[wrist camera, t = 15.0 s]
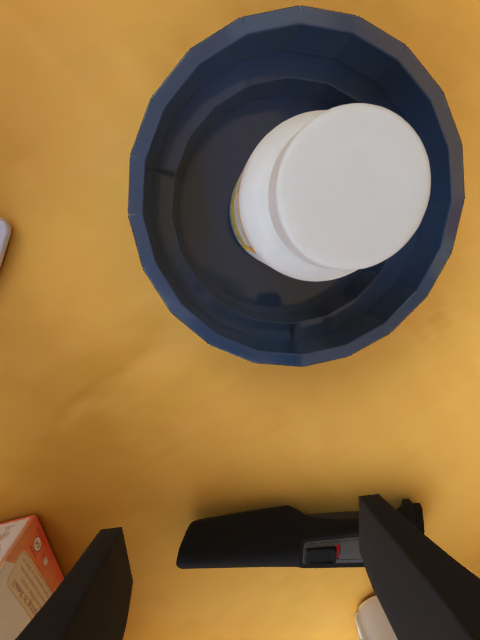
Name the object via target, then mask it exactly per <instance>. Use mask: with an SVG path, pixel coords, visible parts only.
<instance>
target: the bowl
mask: <svg viewBox="0 0 480 640" xmlns="http://www.w3.org/2000/svg"><path fill="white" fill-rule="evenodd" d="M351 103H366V104H372V105H377V106H381V107H384V108H386V109H388V110H391V111H392V112H394V113H396V114H397V115H399V116H400V117H402V118H403V119H404V120H405V121H406V122H408V123H409V125H410V126H411V127H412V128H413V129H414V130H415V132H416V133H417V135H418V136H419V137H420V139H421V141H422V143H423V145H424V148H425V150H426V153H427V156H428V159H429V164H430V172H431V189H430V197H429V201H428V205H427V208H426V211H425V214H424V216H423V218H422V221H421V223H420V225H419V227H418V228H417V230H416V231H415V233H414V234H413V236H412V237H411V238H410V240H409V241H408V242H407V243H406V244H405V245H404V246H403V247H402V248H401V249H400V250H399V251H398V252H397V253H395V254H394V255H392V256H391V257H389V258H388V259H386V260H384V261H382V262H381V263H378V264H376V265H374V266H372V267H368V268H364V269H358V270H356V271H355V272H353V273H350V274H348V275H346V276H343V277H341V278H337V279H333V280H328V281H304V280H299V279H295V278H292V277H289V276H286V275H284V274H282V273H280V272H278V271H276V270H274V269H273V268H271V267H270V266H268V265H266V264H264V263H263V262H261V261H259V260H257V259H256V258H254V257H253V256H251V255H250V254H249V253H247V252H246V251H245V250H244V249H243V248H242V246H241V245H240V243H239V242H238V240H237V239H236V237H235V235H234V232H233V229H232V226H231V221H230V201H231V196H232V193H233V190H234V187H235V185H236V183H237V181H238V179H239V177H240V175H241V173H242V171H243V169H244V167H245V165H246V163H247V161H248V159H249V158H250V156H251V154H252V153H253V151H254V150H255V148H256V147H257V145H258V144H259V143H260V142H261V140H262V139H263V138H264V137H265V136H266V135H267V134H268V133H269V132H270V131H271V130H273V129H274V128H275V127H276V126H278V125H279V124H281V123H282V122H284V121H286V120H288V119H290V118H292V117H294V116H297V115H299V114H302V113H305V112H310V111H317V110H329V109H331V108H333V107H337V106H340V105H345V104H351ZM461 143H462V142H461V139H460V136H459V134H458V131H457V128H456V125H455V123H454V120H453V117H452V114H451V111H450V109H449V106H448V103H447V100H446V98H445V95H444V92H443V91H442V89H441V88H440V86H439V85H438V84H437V83H436V81H435V80H434V79H433V78H432V76H431V75H430V74H429V73H428V71H427V70H426V69H425V68H424V66H423V65H422V64H421V63H420V61H419V60H418V59H417V58H416V56H415V55H414V54H413V53H412V51H411V50H410V49H409V48H408V47H406V45H405V44H404V43H402V42H400V41H399V40H397V39H396V38H394V37H392V36H391V35H389V34H387V33H386V32H384V31H382V30H381V29H379V28H377V27H376V26H374V25H373V24H371V23H369V22H368V21H366V20H364V19H363V18H361V17H359V16H356V15H352V14H346V13H341V12H335V11H329V10H324V9H318V8H313V7H307V6H300V7H299V6H293V7H289V8H284V9H279V10H274V11H269V12H264V13H259V14H254V15H249V16H244V17H242V18H238V19H237V20H235V21H233V22H232V23H230V24H229V25H227V26H225V27H224V28H222V29H221V30H219V31H217V32H216V33H214V34H213V35H211V36H210V37H208V38H206V39H205V40H203V41H202V42H200V43H198V44H197V45H195V46H194V47H192V48H190V49H189V51H187V53H186V54H185V55H184V56H183V58H182V59H181V60H180V62H179V63H178V64H177V65H176V67H175V68H174V69H173V70H172V72H171V73H170V74H169V75H168V77H167V78H166V79H165V81H164V82H163V83H162V84H161V86H160V87H159V88H158V89H157V91H156V92H155V93H154V95H153V96H152V97H151V99H150V101H149V104H148V106H147V109H146V112H145V115H144V117H143V120H142V123H141V126H140V129H139V131H138V134H137V137H136V140H135V143H134V145H133V148H132V151H131V154H130V156H131V157H130V167H129V195H128V214H129V215H128V217H129V221H130V225H131V228H132V232H133V235H134V239H135V243H136V246H137V250H138V254H139V257H140V261H141V265H142V267H143V270H144V272H145V273H146V275H147V276H148V278H149V280H150V281H151V283H152V284H153V286H154V287H155V289H156V290H157V292H158V293H159V295H160V297H161V298H162V300H163V301H164V303H165V304H166V306H167V307H168V309H169V311H170V312H171V313H172V314H173V315H174V316H175V317H177V318H178V319H179V320H180V321H181V322H183V323H184V324H185V325H186V326H187V327H189V328H190V329H191V330H192V331H193V332H195V333H196V334H197V335H198V336H199V337H201V338H202V339H203V340H204V341H206V342H207V343H208V344H210V345H211V346H213V347H216V348H218V349H221V350H223V351H226V352H228V353H231V354H233V355H235V356H238V357H240V358H243V359H245V360H248V361H250V362H253V363H260V364H272V365H285V366H298V367H301V366H302V367H304V366H309V365H313V364H318V363H322V362H327V361H331V360H335V359H340V358H344V357H348V356H350V355H352V354H354V353H356V352H357V351H359V350H361V349H363V348H365V347H366V346H368V345H370V344H372V343H374V342H375V341H377V340H379V339H381V338H383V337H384V336H386V335H388V334H390V332H392V331H393V330H394V329H395V328H396V327H397V326H398V325H399V324H400V323H401V322H402V321H403V320H404V319H405V318H406V317H407V316H408V315H409V314H410V313H411V312H412V311H413V310H414V309H415V308H416V307H417V306H418V305H419V304H420V303H421V302H422V301H423V300H424V299H425V298H426V297H427V296H428V294H429V292H430V290H431V289H432V287H433V285H434V283H435V281H436V280H437V278H438V276H439V274H440V273H441V271H442V269H443V267H444V265H445V264H446V262H447V260H448V258H449V257H450V255H451V253H452V252H451V251H452V250H453V246H454V241H455V237H456V233H457V229H458V225H459V221H460V217H461V212H462V208H463V204H464V199H465V191H464V170H463V149H462V144H461Z"/></svg>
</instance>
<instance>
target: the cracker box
mask: <svg viewBox="0 0 480 640" xmlns="http://www.w3.org/2000/svg"><path fill="white" fill-rule="evenodd" d="M63 580H64V576H63V574H62V572H61V569H60V567H59V565H58V563H57V560H56V558H55V556H54V554H53V551H52V549H51V547H50V545H49V542H48V540H47V538H46V535H45V533H44V531H43V528H42V526H41V524H40V522H39V519H38V517H37V515H31V516H27V517H23V518H19V519H15V520H11V521H7V522H4V523H0V640H15V639H16V638H17V637H18V635H19V634H20V633H21V632H22V631H23V629H24V628H25V627H26V626H27V625H28V623H29V622H30V621H31V620H32V619H33V617H34V616H35V615H36V614H37V613H38V611H39V610H40V609H41V608H42V606H43V605H44V604H45V603H46V601H47V600H48V599H49V598H50V596H51V595H52V594H53V592H54V591H55V590H56V589H57V587H58V586H59V585H60V583H61V582H62V581H63Z"/></svg>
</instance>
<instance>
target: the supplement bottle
mask: <svg viewBox="0 0 480 640" xmlns="http://www.w3.org/2000/svg"><path fill="white" fill-rule="evenodd" d="M430 189H431V172H430V164H429V159H428V156H427V153H426V150H425V148H424V145H423V143H422V141H421V139H420V137H419V136H418V135H417V133H416V132H415V130H414V129H413V128H412V127H411V126H410V125H409V123H408V122H406V121H405V120H404V119H403V118H402V117H400V116H399V115H397V114H396V113H394V112H392V111H391V110H388V109H386V108H384V107H381V106H377V105H372V104H366V103H351V104H345V105H340V106H337V107H333V108H331V109H329V110H317V111H310V112H305V113H302V114H299V115H297V116H294V117H292V118H290V119H288V120H286V121H284V122H282V123H281V124H279V125H278V126H276V127H275V128H274V129H273V130H271V131H270V132H269V133H268V134H267V135H266V136H265V137H264V138H263V139H262V140H261V142H260V143H259V144H258V145H257V147H256V148H255V150H254V151H253V153H252V154H251V156H250V158H249V159H248V161H247V163H246V165H245V167H244V169H243V171H242V173H241V175H240V177H239V179H238V181H237V183H236V185H235V187H234V190H233V193H232V196H231V201H230V221H231V226H232V229H233V232H234V235H235V237H236V239H237V240H238V242H239V243H240V245H241V246H242V248H243V249H244V250H245V251H246V252H247V253H249V254H250V255H251V256H253V257H254V258H256V259H257V260H259V261H261V262H263V263H264V264H266V265H268V266H270V267H271V268H273V269H274V270H276V271H278V272H280V273H282V274H284V275H286V276H289V277H292V278H295V279H299V280H304V281H328V280H333V279H337V278H341V277H343V276H346V275H348V274H350V273H353V272H355V271H356V270H358V269H364V268H368V267H372V266H374V265H376V264H378V263H381V262H382V261H384V260H386V259H388V258H389V257H391V256H392V255H394V254H395V253H397V252H398V251H399V250H400V249H401V248H402V247H403V246H404V245H405V244H406V243H407V242H408V241H409V240H410V238H411V237H412V236H413V234H414V233H415V231H416V230H417V228H418V227H419V225H420V223H421V221H422V218H423V216H424V214H425V211H426V208H427V205H428V201H429V197H430Z"/></svg>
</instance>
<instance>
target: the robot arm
mask: <svg viewBox="0 0 480 640" xmlns="http://www.w3.org/2000/svg"><path fill="white" fill-rule="evenodd" d="M10 235H11V226H10V224H9V223H8V221H6V220H5V219H3V218H0V267H1V264H2V261H3V257H4V254H5V251H6V248H7V244H8V241H9V238H10ZM359 552H360V555H361V557H362V560H363V563H364V566H365V568H366V571H367V574H368V577H369V579H370V582H371V584H372V587H373V590H374V592H375V594H376V596H377V598H378V600H379V602H380V604H381V606H382V608H383V610H384V613H385V615H386V617H387V619H388V621H389V623H390V625H391V627H392V629H393V631H394V633H395V635H396V637H397V639H398V640H480V579H479V578H478V577H477V576H475V575H474V574H473V573H471V572H470V571H469V570H467V569H466V568H465V567H464V566H462V565H461V564H460V563H458V562H457V561H456V560H455V559H453V558H452V557H451V556H450V555H448V554H447V553H446V552H445V551H443V550H442V549H441V548H440V547H439V546H437V545H436V544H435V543H434V542H433V541H431V540H430V539H429V538H428V537H427V536H425V535H424V534H423V533H422V532H421V531H420V530H418V529H417V528H416V527H415V526H414V525H413V524H412V523H410V522H409V521H408V520H407V519H406V518H405V517H404V516H403V515H401V514H400V513H399V512H398V511H397V510H396V509H395V508H394V507H392V506H391V505H390V504H389V503H388V502H387V501H386V500H385V499H383V498H382V497H381V496H380V495H379V494H374V495H366V496H359ZM132 584H133V579H132V574H131V570H130V565H129V560H128V555H127V550H126V545H125V540H124V535H123V530H122V527H117V528H109V529H101V530H100V532H99V533H98V534H97V535H96V537H95V538H94V539H93V541H92V542H91V543H90V545H89V546H88V547H87V549H86V550H85V551H84V553H83V554H82V556H81V557H80V558H79V560H78V561H77V562H76V564H75V565H74V566H73V568H72V569H71V570H70V572H69V573H68V574H67V576H66V577H65V578H64V580H63V581H62V582H61V583H60V585H59V586H58V587H57V589H56V590H55V591H54V592H53V594H52V595H51V596H50V598H49V599H48V600H47V601H46V603H45V604H44V605H43V606H42V608H41V609H40V610H39V611H38V613H37V614H36V615H35V616H34V617H33V619H32V620H31V621H30V622H29V623H28V625H27V626H26V627H25V628H24V629H23V631H22V632H21V633H20V634H19V635H18V637H17V638H16V639H15V640H123V636H124V632H125V627H126V623H127V617H128V611H129V605H130V598H131V591H132Z"/></svg>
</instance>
